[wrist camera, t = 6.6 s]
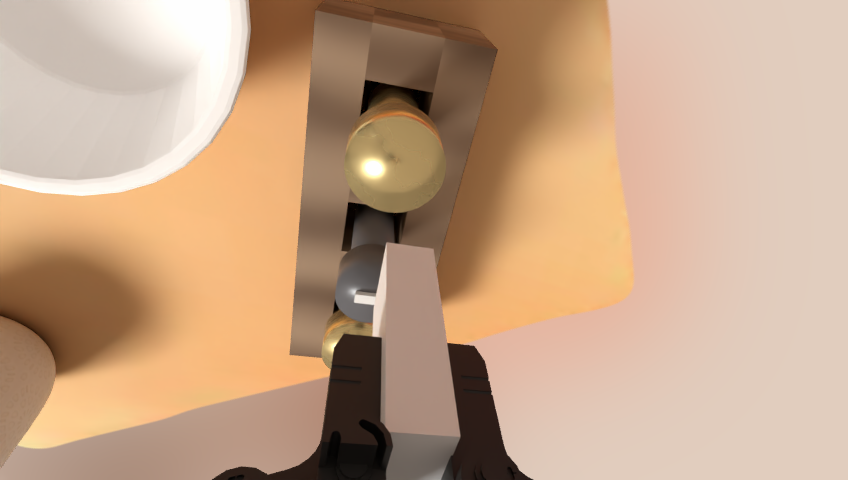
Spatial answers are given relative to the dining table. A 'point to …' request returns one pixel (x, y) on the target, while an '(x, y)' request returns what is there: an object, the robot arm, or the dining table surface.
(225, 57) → the bowl
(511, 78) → the dining table surface
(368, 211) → the pot knob
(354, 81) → the mount
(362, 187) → the knob
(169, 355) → the dining table surface
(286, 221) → the dining table surface
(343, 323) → the knob
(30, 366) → the planter
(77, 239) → the dining table surface
